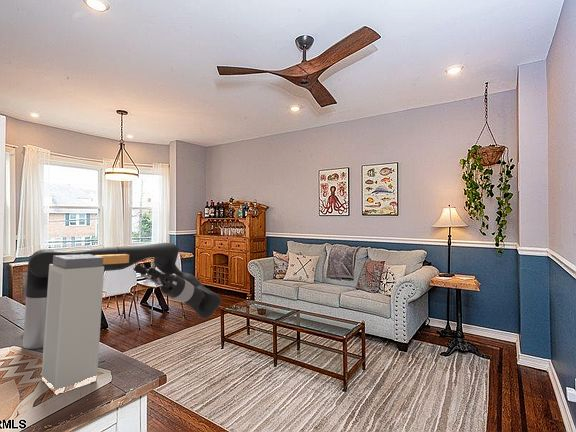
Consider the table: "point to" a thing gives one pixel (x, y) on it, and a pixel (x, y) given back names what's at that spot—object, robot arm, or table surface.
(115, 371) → the table surface
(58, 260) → the grey paddle with handle
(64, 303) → the tall grey pillar
